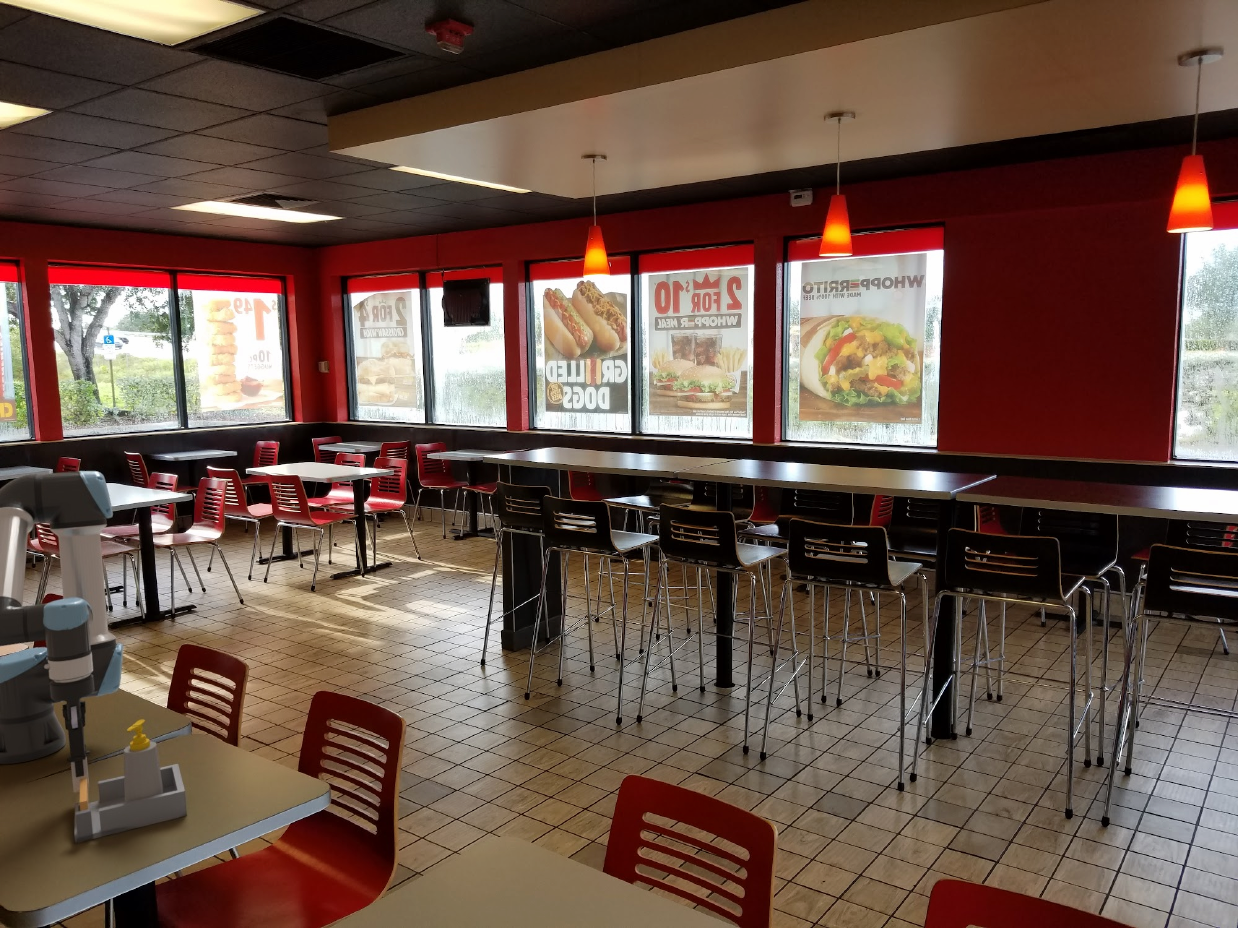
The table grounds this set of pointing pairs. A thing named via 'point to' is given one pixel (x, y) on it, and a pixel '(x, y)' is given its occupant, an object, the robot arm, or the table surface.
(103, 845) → the table surface
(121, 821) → the box
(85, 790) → the orange long flat block
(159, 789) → the soap bottle
